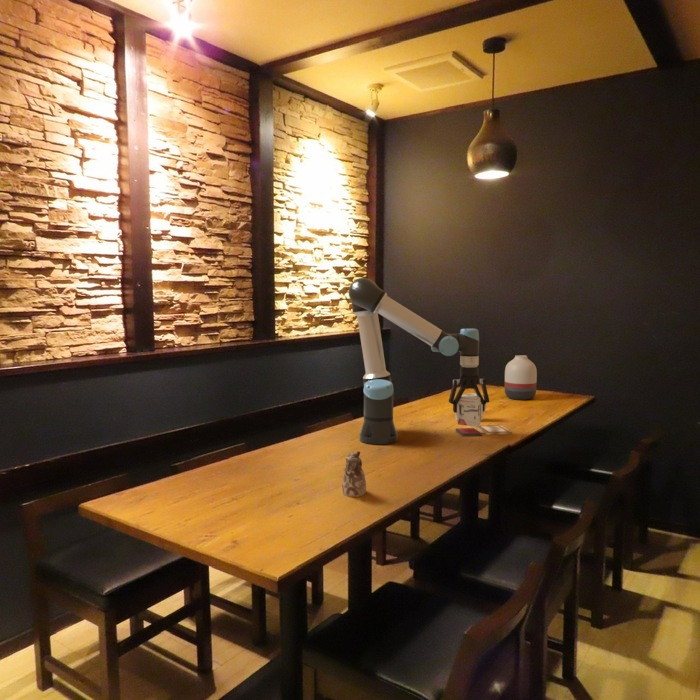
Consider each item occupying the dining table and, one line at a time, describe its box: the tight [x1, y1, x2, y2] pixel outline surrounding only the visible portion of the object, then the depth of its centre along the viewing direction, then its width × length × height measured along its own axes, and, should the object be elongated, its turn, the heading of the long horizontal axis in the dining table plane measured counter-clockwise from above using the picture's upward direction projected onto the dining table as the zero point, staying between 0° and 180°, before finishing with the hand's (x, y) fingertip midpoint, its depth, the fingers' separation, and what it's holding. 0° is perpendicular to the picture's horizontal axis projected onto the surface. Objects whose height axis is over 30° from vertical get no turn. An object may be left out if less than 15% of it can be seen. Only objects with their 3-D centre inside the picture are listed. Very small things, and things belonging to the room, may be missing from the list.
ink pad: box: [454, 427, 483, 437], centre depth 248 cm, size 8×10×1 cm
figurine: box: [341, 450, 367, 498], centre depth 174 cm, size 7×7×12 cm
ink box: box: [457, 394, 481, 427], centre depth 247 cm, size 9×5×12 cm, turn 62°
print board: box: [475, 424, 513, 436], centre depth 253 cm, size 11×13×1 cm
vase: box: [504, 354, 538, 401], centre depth 329 cm, size 17×17×24 cm
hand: (468, 419), depth 248 cm, fingers closed on ink box, 9 cm apart
